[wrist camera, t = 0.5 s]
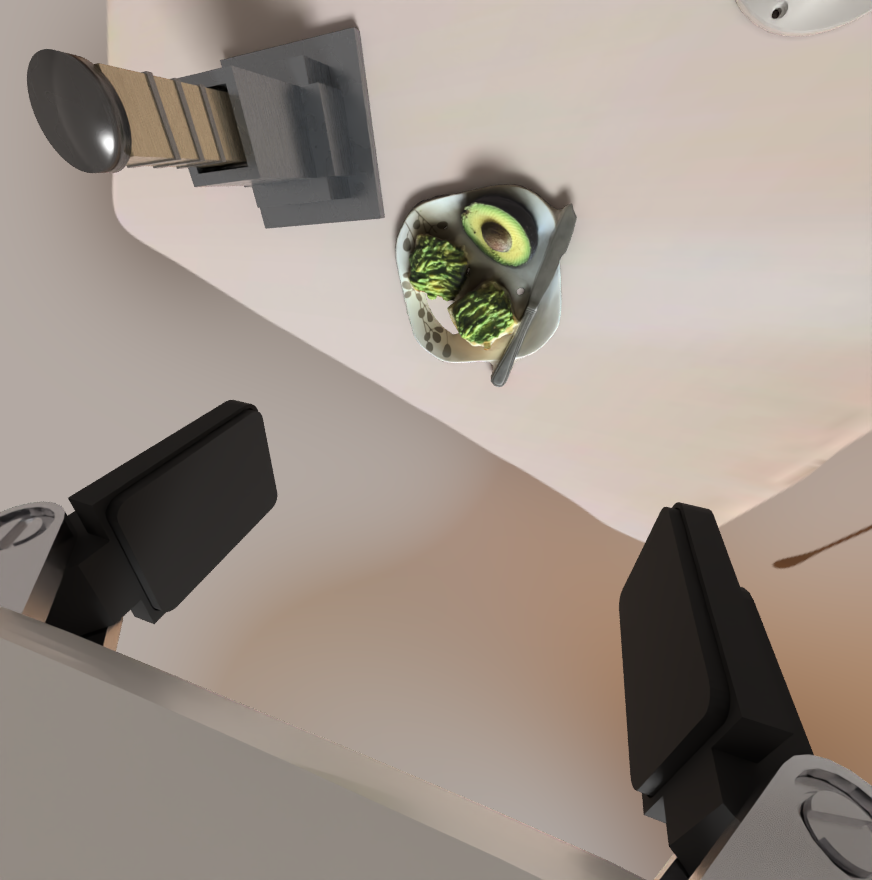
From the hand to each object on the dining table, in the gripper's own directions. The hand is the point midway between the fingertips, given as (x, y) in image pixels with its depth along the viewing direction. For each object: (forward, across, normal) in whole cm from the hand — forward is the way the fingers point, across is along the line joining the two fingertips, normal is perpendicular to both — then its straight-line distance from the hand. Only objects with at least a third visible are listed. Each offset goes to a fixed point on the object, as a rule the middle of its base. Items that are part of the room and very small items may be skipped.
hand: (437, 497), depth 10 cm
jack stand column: (+36, +25, -8) cm, 44 cm away
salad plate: (+38, +7, +3) cm, 38 cm away
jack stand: (+37, +25, -8) cm, 45 cm away
